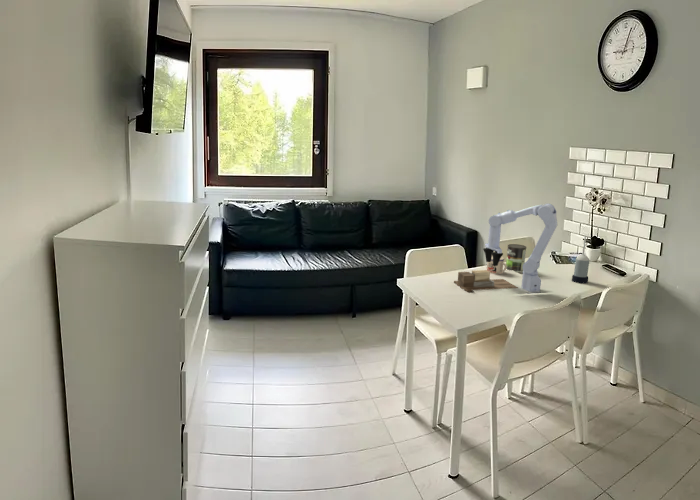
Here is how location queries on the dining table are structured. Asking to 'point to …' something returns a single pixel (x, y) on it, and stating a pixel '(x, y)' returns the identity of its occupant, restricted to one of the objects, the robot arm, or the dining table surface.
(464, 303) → the dining table surface
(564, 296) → the dining table surface
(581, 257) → the humidifier
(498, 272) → the teacup with lid
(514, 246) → the coffee can
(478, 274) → the beige pillar with cap
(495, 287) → the post board
